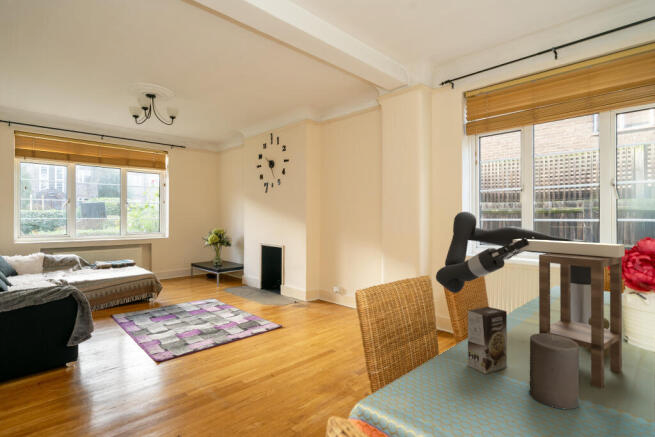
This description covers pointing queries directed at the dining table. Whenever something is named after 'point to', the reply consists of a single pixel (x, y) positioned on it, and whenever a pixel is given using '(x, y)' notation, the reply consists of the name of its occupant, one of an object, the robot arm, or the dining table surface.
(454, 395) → the dining table surface
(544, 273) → the walnut shelf
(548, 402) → the pillar candle
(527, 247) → the cutlery box
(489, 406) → the dining table surface
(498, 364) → the coffee box
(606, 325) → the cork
